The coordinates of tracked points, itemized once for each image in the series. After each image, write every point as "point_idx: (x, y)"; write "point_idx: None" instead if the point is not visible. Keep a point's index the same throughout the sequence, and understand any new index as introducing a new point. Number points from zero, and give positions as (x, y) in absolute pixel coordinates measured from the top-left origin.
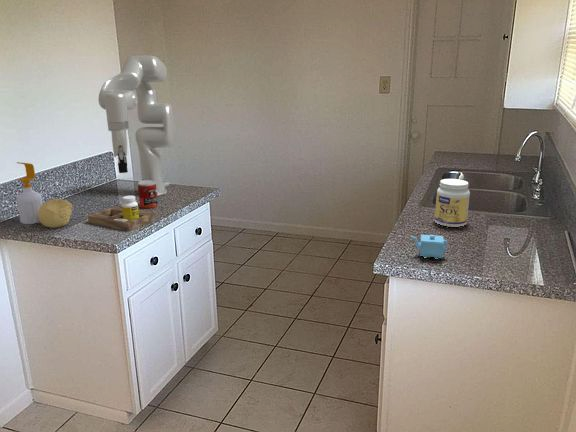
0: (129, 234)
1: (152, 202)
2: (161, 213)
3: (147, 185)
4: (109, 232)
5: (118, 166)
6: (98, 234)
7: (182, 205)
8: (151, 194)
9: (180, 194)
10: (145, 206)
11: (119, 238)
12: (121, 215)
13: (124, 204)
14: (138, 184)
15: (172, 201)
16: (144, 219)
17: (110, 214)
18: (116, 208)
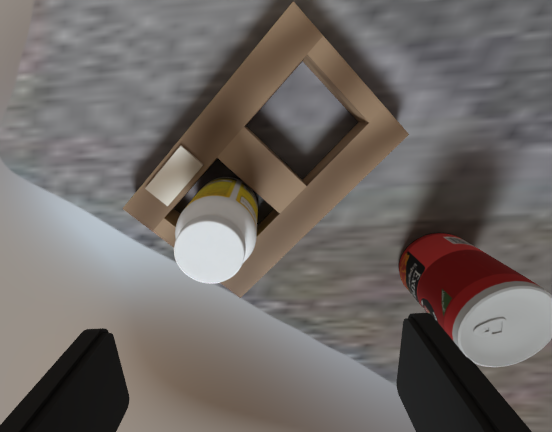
0: (99, 202)
1: (409, 289)
2: (324, 303)
3: (454, 329)
4: (133, 123)
5: (19, 405)
6: (112, 77)
7: (393, 364)
8: (426, 310)
9: (533, 361)
10: (405, 256)
11: (55, 167)
12: (249, 175)
13: (187, 216)
14: (497, 287)
15: None
16: None
17: (355, 115)
18: (369, 146)
